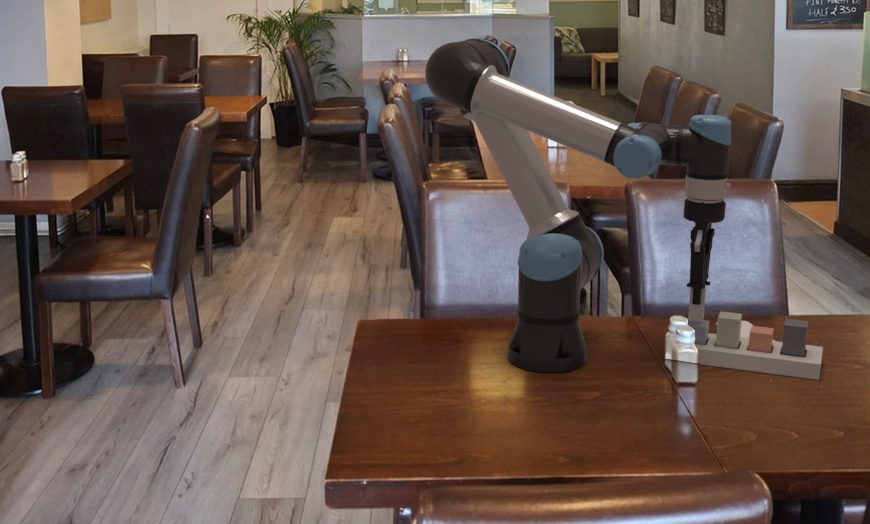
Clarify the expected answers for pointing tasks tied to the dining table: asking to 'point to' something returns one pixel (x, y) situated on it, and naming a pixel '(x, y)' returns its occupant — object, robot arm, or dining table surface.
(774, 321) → the dining table surface
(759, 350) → the key terracotta
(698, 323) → the key slate
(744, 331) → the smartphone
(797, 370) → the grey block holder
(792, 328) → the key charcoal
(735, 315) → the key sage
